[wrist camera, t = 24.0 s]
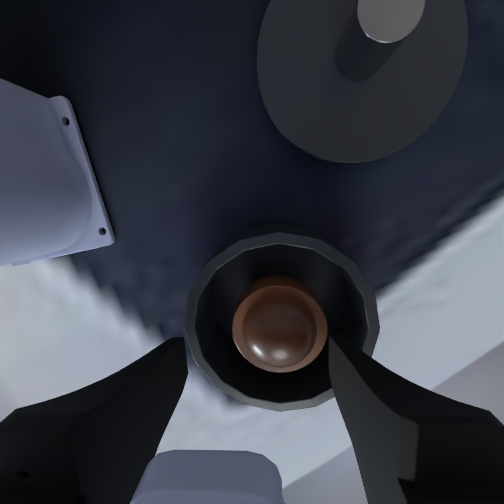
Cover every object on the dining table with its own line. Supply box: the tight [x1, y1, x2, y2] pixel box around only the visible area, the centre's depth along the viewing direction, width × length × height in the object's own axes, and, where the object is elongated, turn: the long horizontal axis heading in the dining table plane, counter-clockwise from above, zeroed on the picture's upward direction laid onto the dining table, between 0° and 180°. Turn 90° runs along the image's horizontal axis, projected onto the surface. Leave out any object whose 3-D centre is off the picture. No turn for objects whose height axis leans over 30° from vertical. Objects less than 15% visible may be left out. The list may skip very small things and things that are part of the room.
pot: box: [184, 223, 380, 411], centre depth 17 cm, size 10×10×5 cm
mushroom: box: [232, 274, 327, 372], centre depth 16 cm, size 5×5×6 cm
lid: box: [256, 0, 468, 164], centre depth 13 cm, size 11×11×5 cm
